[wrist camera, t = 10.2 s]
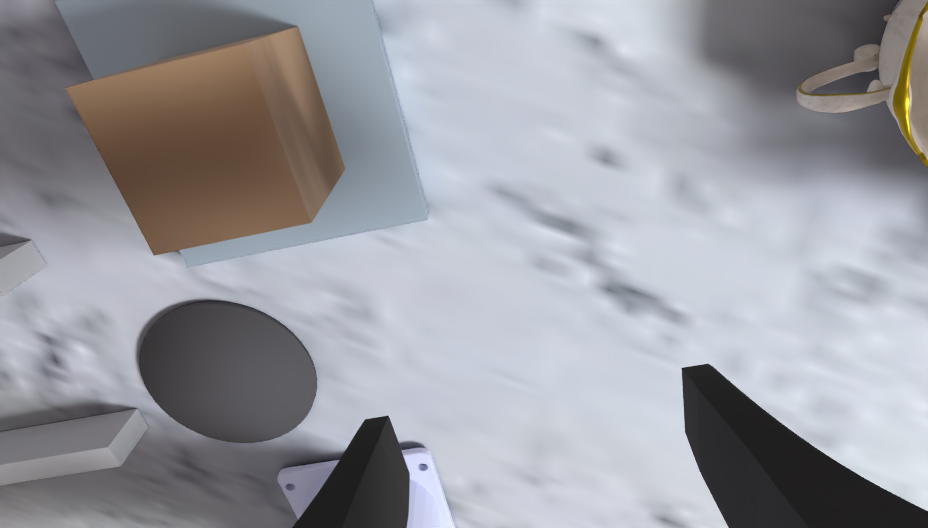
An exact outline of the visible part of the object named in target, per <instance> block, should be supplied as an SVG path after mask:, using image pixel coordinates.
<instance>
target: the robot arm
mask: <svg viewBox="0 0 928 528" xmlns="http://www.w3.org/2000/svg"><path fill="white" fill-rule="evenodd" d="M682 381H683V399H684V418H685V433H686V435H687V438H688V441H689V444H690V446H691V449H692V452H693V454H694V457H695V460H696V462H697V465H698V467H699V470H700V472H701V474H702V476H703V478H704V480H705V482H706V484H707V486H708V488H709V490H710V492H711V494H712V496H713V498H714V500H715V502H716V504H717V506H718V508H719V510H720V512H721V514H722V515H723V517H724V519H725V521H726V523H727V525H728V527H729V528H928V511H926V510H924V509H922V508H920V507H918V506H916V505H914V504H912V503H910V502H908V501H906V500H904V499H902V498H900V497H898V496H896V495H894V494H892V493H891V492H889V491H887V490H885V489H883V488H881V487H879V486H877V485H875V484H874V483H872V482H870V481H868V480H866V479H865V478H863V477H861V476H860V475H858V474H856V473H855V472H853V471H851V470H850V469H848V468H846V467H845V466H843V465H841V464H840V463H838V462H836V461H835V460H833V459H832V458H830V457H829V456H827V455H826V454H824V453H823V452H821V451H820V450H818V449H817V448H815V447H814V446H812V445H811V444H809V443H808V442H807V441H805V440H804V439H802V438H801V437H799V436H798V435H797V434H795V433H794V432H792V431H791V430H790V429H788V428H787V427H786V426H784V425H783V424H782V423H780V422H779V421H778V420H776V419H775V418H774V417H773V416H771V415H770V414H769V413H767V412H766V411H765V410H763V409H762V408H761V407H760V406H758V405H757V404H756V403H755V402H753V401H752V400H751V399H750V398H749V397H747V396H746V395H745V394H744V393H743V392H741V391H740V390H739V389H738V388H737V387H736V386H734V385H733V384H732V383H731V382H730V381H729V380H727V379H726V378H725V377H724V376H723V375H722V374H721V373H719V372H718V371H717V370H716V369H715V368H714V367H712V366H711V365H709V364H703V365H697V366H691V367H685V368H682ZM421 464H426V465H421ZM277 480H278V482H279V484H280V486H281V488H282V490H283V492H284V494H285V496H286V498H287V500H288V502H289V504H290V506H291V507H292V509H293V511H294V513H295V515H296V517H297V519H298V521H297V522H296V523H295V525H294V526H293V527H292V528H455V525H454V522H453V519H452V516H451V513H450V510H449V507H448V504H447V501H446V498H445V495H444V492H443V489H442V486H441V483H440V480H439V477H438V474H437V471H436V468H435V465H434V462H433V459H432V456H431V453H430V452H429V450H427V449H425V448H412V449H406V450H401V448H400V446H399V443H398V440H397V437H396V435H395V432H394V429H393V427H392V424H391V421H390V418H389V416H384V417H378V418H372V419H365V421H364V422H363V423H362V425H361V427H360V428H359V430H358V431H357V433H356V434H355V436H354V438H353V439H352V441H351V443H350V444H349V446H348V447H347V449H346V451H345V452H344V454H343V455H342V457H341V458H340V460H334V461H328V462H321V463H315V464H308V465H302V466H295V467H289V468H284V469H282V470H280V472H279V474H278V477H277Z"/></svg>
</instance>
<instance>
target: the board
mask: <svg viewBox="0 0 928 528" xmlns="http://www.w3.org/2000/svg"><path fill="white" fill-rule="evenodd" d="M54 2H55V4H56V6H57V8H58V10H59V12H60V14H61V16H62V18H63V20H64V22H65V24H66V26H67V28H68V30H69V32H70V34H71V36H72V38H73V40H74V42H75V44H76V46H77V48H78V50H79V52H80V54H81V56H82V58H83V60H84V62H85V64H86V66H87V68H88V70H89V72H90V74H91V76H92V78H93V80H94V79H98V78H101V77H105V76H108V75H112V74H115V73H119V72H122V71H125V70H129V69H132V68H136V67H139V66H143V65H146V64H149V63H153V62H156V61H160V60H164V59H168V58H172V57H176V56H180V55H184V54H188V53H192V52H196V51H200V50H204V49H208V48H212V47H216V46H220V45H224V44H229V43H233V42H237V41H241V40H245V39H249V38H253V37H257V36H261V35H265V34H269V33H273V32H277V31H281V30H285V29H289V28H293V27H297V26H298V27H299V30H300V33H301V36H302V39H303V42H304V45H305V48H306V51H307V54H308V57H309V60H310V63H311V66H312V69H313V72H314V75H315V78H316V82H317V85H318V88H319V91H320V94H321V97H322V100H323V103H324V106H325V109H326V112H327V115H328V118H329V121H330V124H331V127H332V130H333V133H334V136H335V139H336V142H337V145H338V148H339V151H340V154H341V157H342V160H343V163H344V166H345V171H344V172H343V174H342V175H341V177H340V179H339V180H338V182H337V183H336V185H335V186H334V188H333V190H332V191H331V193H330V194H329V196H328V198H327V199H326V201H325V202H324V204H323V205H322V207H321V209H320V210H319V212H318V213H317V215H316V217H315V218H314V220H313V221H312V223H309V224H304V225H299V226H294V227H289V228H285V229H280V230H275V231H270V232H265V233H260V234H255V235H251V236H246V237H241V238H236V239H231V240H226V241H222V242H217V243H212V244H207V245H202V246H197V247H192V248H188V249H183V250H179V252H180V254H181V256H182V258H183V260H184V262H185V264H186V266H187V267H192V266H197V265H202V264H207V263H212V262H218V261H223V260H228V259H233V258H238V257H243V256H248V255H253V254H258V253H263V252H268V251H273V250H278V249H283V248H288V247H293V246H298V245H303V244H308V243H313V242H318V241H323V240H328V239H333V238H338V237H343V236H348V235H353V234H358V233H363V232H368V231H374V230H379V229H384V228H389V227H394V226H399V225H404V224H409V223H414V222H419V221H424V220H427V219H428V213H429V211H428V207H427V204H426V200H425V196H424V192H423V189H422V185H421V181H420V177H419V174H418V170H417V166H416V162H415V159H414V155H413V151H412V147H411V143H410V140H409V136H408V132H407V128H406V125H405V121H404V117H403V113H402V110H401V106H400V102H399V98H398V95H397V91H396V87H395V83H394V79H393V76H392V72H391V68H390V64H389V61H388V57H387V53H386V49H385V46H384V42H383V38H382V34H381V31H380V27H379V23H378V19H377V15H376V12H375V8H374V4H373V0H57V1H54Z"/></svg>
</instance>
